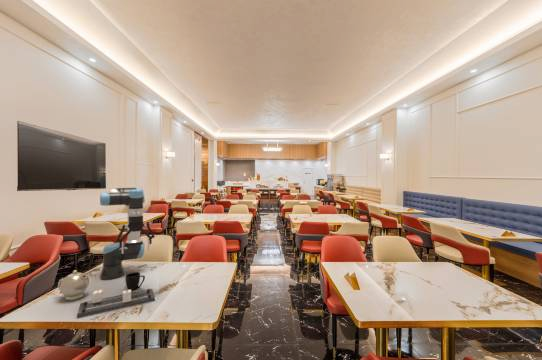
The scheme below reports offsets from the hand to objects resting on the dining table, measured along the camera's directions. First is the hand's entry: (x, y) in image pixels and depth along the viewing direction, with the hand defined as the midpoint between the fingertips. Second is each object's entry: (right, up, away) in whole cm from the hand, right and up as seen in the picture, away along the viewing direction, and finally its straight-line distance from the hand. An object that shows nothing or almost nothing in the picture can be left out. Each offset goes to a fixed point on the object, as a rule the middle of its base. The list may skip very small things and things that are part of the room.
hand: (135, 251), depth 148 cm
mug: (-7, -28, +13) cm, 32 cm away
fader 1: (-17, -25, -8) cm, 31 cm away
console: (-6, -28, -6) cm, 29 cm away
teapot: (-39, -28, +1) cm, 48 cm away
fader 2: (-1, -25, -8) cm, 26 cm away
